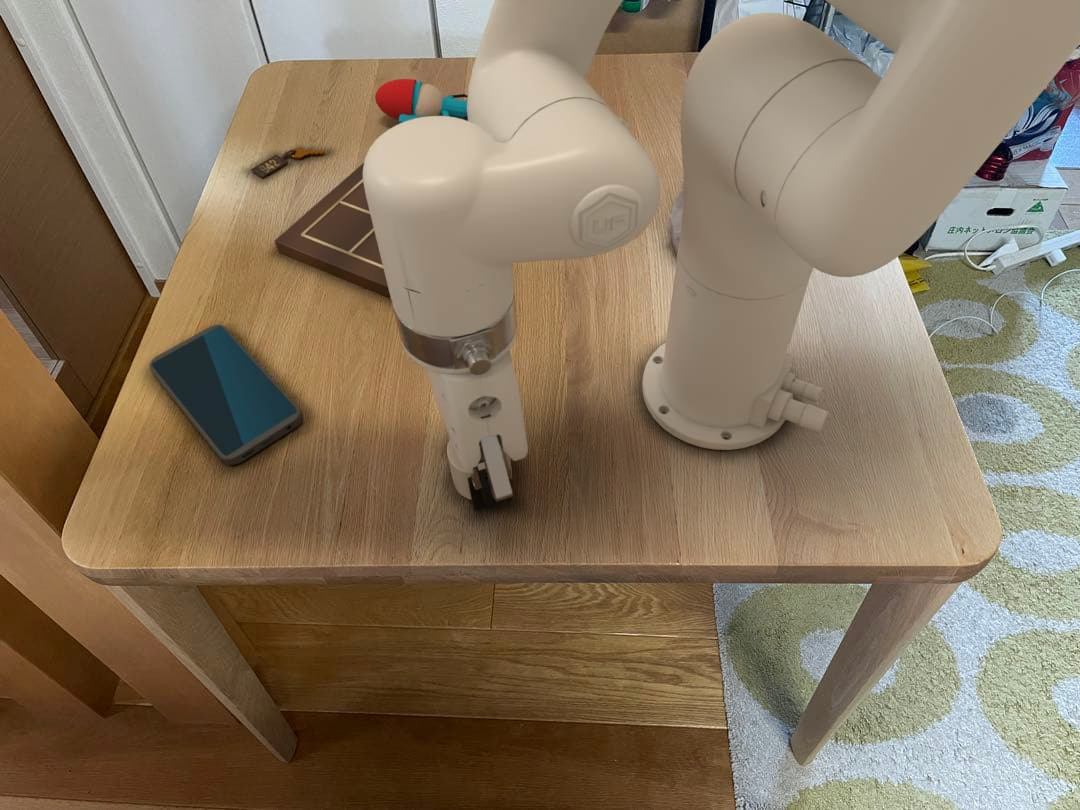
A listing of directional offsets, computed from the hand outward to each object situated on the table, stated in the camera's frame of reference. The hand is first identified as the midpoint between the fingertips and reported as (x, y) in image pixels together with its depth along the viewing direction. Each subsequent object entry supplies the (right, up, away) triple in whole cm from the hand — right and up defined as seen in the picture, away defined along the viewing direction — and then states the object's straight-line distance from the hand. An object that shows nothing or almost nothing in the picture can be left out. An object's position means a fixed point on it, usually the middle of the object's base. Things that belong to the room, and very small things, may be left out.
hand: (482, 473), depth 66 cm
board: (-11, +24, +20) cm, 33 cm away
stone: (0, 0, 0) cm, 0 cm away
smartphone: (-23, +6, +7) cm, 25 cm away
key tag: (-24, +33, +27) cm, 49 cm away
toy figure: (-7, +39, +32) cm, 51 cm away
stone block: (+23, +23, +18) cm, 37 cm away
